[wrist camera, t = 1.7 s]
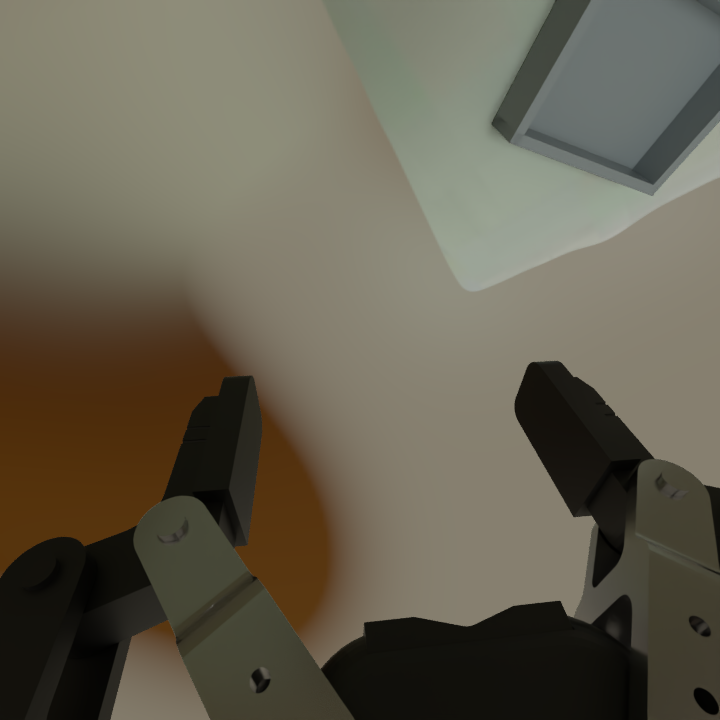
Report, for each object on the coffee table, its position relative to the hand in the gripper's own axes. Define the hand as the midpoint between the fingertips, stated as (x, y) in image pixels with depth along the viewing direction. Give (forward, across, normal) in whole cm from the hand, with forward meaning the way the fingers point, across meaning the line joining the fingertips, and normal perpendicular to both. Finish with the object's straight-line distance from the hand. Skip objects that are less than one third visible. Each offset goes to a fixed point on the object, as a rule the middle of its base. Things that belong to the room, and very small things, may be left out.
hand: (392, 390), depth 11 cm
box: (+28, -22, -7) cm, 36 cm away
